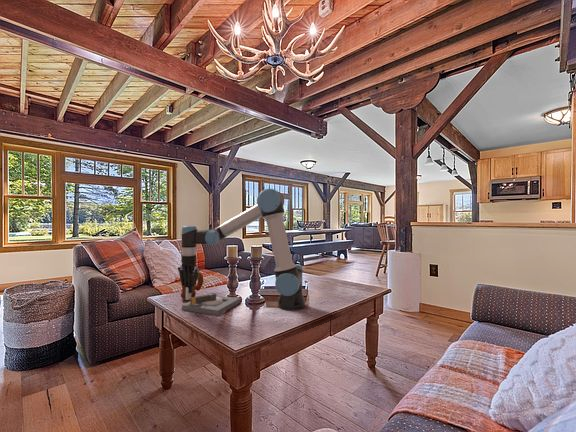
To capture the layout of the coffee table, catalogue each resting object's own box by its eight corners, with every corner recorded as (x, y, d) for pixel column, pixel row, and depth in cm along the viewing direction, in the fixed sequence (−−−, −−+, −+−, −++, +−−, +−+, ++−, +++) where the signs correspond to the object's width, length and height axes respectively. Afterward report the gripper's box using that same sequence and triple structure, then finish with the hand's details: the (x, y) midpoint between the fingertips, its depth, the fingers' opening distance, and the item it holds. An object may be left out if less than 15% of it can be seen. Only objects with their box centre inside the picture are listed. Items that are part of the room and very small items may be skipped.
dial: (216, 299, 166) (216, 290, 166) (226, 304, 158) (226, 294, 158) (186, 305, 155) (186, 295, 155) (195, 311, 146) (195, 300, 146)
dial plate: (239, 302, 165) (240, 297, 165) (217, 315, 144) (217, 309, 144) (207, 298, 173) (207, 293, 173) (181, 309, 152) (182, 304, 152)
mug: (185, 302, 164) (185, 276, 163) (176, 300, 168) (177, 274, 168) (206, 297, 175) (206, 272, 175) (198, 294, 180) (198, 270, 180)
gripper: (203, 254, 156) (203, 298, 156) (183, 253, 160) (183, 295, 161) (194, 256, 149) (193, 302, 149) (174, 255, 153) (173, 299, 154)
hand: (188, 298), depth 155 cm, fingers closed
